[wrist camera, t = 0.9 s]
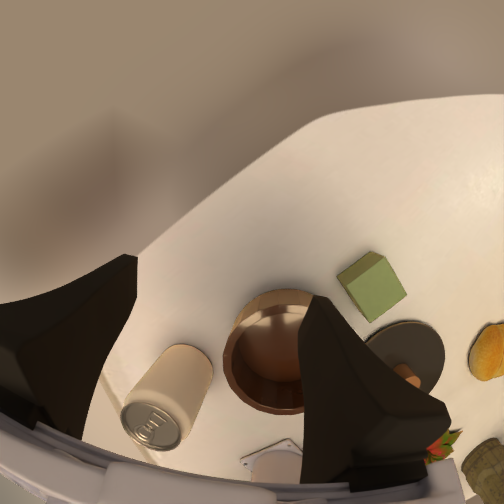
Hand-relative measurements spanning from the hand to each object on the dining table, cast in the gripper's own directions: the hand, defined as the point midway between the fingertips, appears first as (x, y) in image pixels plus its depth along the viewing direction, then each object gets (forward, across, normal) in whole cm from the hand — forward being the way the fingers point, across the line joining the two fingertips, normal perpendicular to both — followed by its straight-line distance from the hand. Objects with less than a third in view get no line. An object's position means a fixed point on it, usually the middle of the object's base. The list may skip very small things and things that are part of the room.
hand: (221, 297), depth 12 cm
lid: (+11, -22, +15) cm, 29 cm away
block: (+16, -14, +7) cm, 22 cm away
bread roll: (+12, -37, +10) cm, 40 cm away
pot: (+14, -8, +15) cm, 22 cm away
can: (+13, +2, +21) cm, 25 cm away
